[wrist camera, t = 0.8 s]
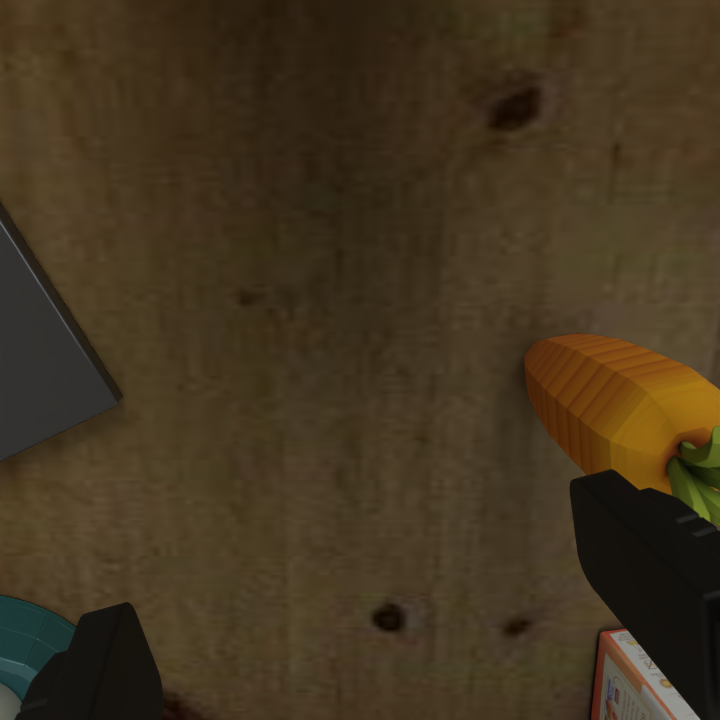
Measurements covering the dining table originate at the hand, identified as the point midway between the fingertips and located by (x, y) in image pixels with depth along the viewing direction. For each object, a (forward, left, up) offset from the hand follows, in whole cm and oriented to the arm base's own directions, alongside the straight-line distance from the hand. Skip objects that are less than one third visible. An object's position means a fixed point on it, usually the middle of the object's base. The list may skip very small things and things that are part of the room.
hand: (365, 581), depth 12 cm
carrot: (+6, +9, -18) cm, 21 cm away
